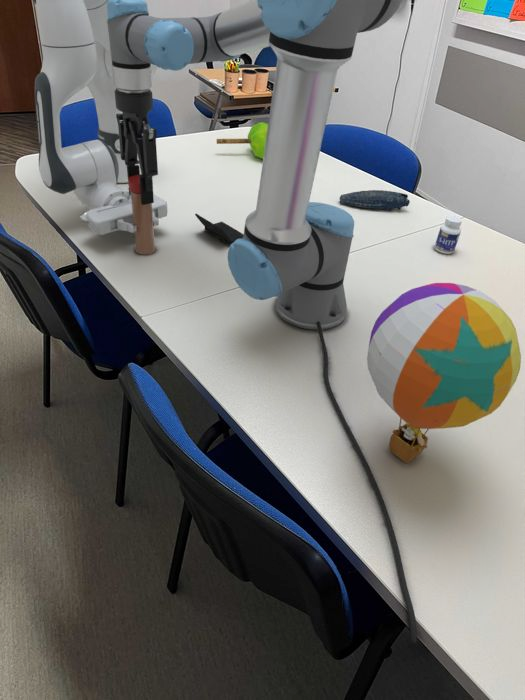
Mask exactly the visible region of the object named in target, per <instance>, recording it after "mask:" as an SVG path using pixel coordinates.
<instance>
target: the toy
mask: <svg viewBox="0 0 525 700" xmlns="http://www.w3.org/2000/svg"><path fill="white" fill-rule="evenodd" d="M367 347H368V348H367V354H366V355H367V356H366V362H367V370H368V372H369V375H370V377H371V379H372V380H371V381H372V382H373V385H374V387H375V389H376V391H377V394H378V395H379V397H381V399H382V401H384V402H385V403H386V405H387V406H388V407H389V408H390V409H391V410H392V411H393V412H394V413H395V414H396V415H397V416H398V417H399V418H400V419H399V425H398V428H397V429H393V430H392V434H391V436H390V440H389V444H388V449H389V451H390V453H392V454H394V455H395V456H396V457H397V458H399V460H401V461H402V462H404V463H405V464H409V463H410V462H412V461H413V460H414V459H415V458H417V457H418V456H419V455H420V454H421V453H423V451H424V449H427V447H428V440H429V438H428V437H427V436H426V434H427V433H428V431H429V430H437V429H453V428H461V427H466V426H467V425H469V424H472V423H475V422H477V421H478V420H481V419H483V418H485V417H487V416H489V415H492V413H494V412H495V411H496V410H497V409H498V408H500V407H501V405H502V404H503V402H504V401H505V399H506V398H507V396H508V395H509V394H510V391H512V388H513V387H514V385H515V383H516V382H517V379H518V376H519V373H520V371H521V362H522V354H521V349H520V343H519V338H518V333H517V329H516V327H515V324H514V323H513V321H512V319H511V317H510V316H509V315H508V314H507V312H506V311H505V310H504V309H503V307H502V306H500V304H499V303H498V302H497V301H496V300H495V299H493V298H491V297H490V296H489V295H487V294H485V293H484V292H483V291H481V290H478V289H475V288H473V287H470V286H467V285H464V284H458V283H453V282H434V283H429V284H424V285H421V286H418V287H414V288H411V289H409V290H407V291H405V292H403V293H402V294H401V295H399V296H398V297H397V298H396V299H394V301H393V302H392V303H390V304H389V305H388V306H387V307H386V308H385V309H383V310H382V311H381V313H380V314H379V315H378V317H377V319H376V320H375V321H374V324H373V327H372V330H371V332H370V338H369V342H368V346H367ZM402 420H403V421H404V422H405V423H404V424H403V425H402ZM421 429H422V430H426V431H425V432H424V433H423V432H422V430H421Z"/></svg>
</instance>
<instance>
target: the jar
mask: <svg viewBox="0 0 525 700" xmlns="http://www.w3.org/2000/svg"><path fill="white" fill-rule="evenodd" d="M130 192H131V191H130ZM131 204H132V215H133V223H134V224H136V226H137V232H134V233H133V237H134V248H135V252H136V253H137V254H138V255H142V256H143V255H144V256H148V255H151V254H154V252H155V251H156V245H155V230H154V229H155V228H154V227H155V226H153V210H152V203H150V204H146V205H142V203H141V193H134V192H131Z"/></svg>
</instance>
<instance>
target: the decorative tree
mask: <svg viewBox="0 0 525 700" xmlns="http://www.w3.org/2000/svg"><path fill="white" fill-rule="evenodd" d="M267 129H268V123H266V122H264V121H263V122H262V121H261V122H258V123H256V124H253V125H252V126H251V127H250V129H249V132H248V134H247V138H216V144H217V145H229V144H230V145H232V144H233V145H234V144H239V145H241V144H243V145H244V144H249V146H250V148H251V150H252V152H253V154H254V156H255V157H257V158H260V159H262V160H263V157H264V150H265V143H266V136H267Z"/></svg>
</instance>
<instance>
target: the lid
mask: <svg viewBox="0 0 525 700" xmlns="http://www.w3.org/2000/svg"><path fill="white" fill-rule="evenodd" d="M127 184H129V186H128V188H129V190H130V191H131V192H134V193H141V190H140V177H139V175H133V176H130V177H129V178H128V183H127Z"/></svg>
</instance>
